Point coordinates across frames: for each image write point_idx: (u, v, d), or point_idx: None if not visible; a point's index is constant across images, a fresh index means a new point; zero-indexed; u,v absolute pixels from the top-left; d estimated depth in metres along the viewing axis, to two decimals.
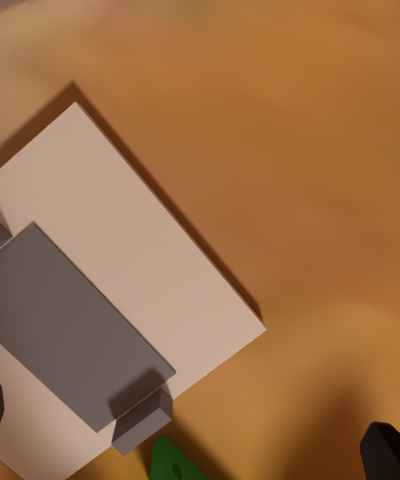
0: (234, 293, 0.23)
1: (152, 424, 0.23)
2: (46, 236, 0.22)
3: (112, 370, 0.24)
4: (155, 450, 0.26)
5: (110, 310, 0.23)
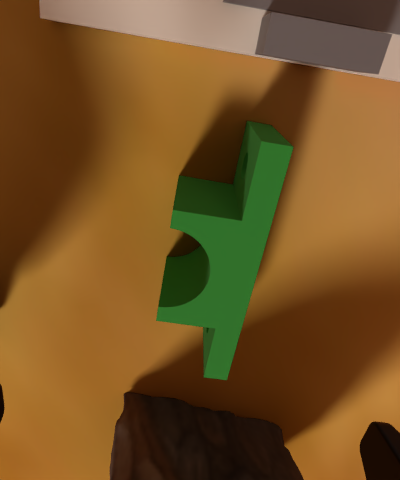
0: None
1: (353, 49, 0.12)
2: None
3: None
4: (257, 125, 0.15)
5: None
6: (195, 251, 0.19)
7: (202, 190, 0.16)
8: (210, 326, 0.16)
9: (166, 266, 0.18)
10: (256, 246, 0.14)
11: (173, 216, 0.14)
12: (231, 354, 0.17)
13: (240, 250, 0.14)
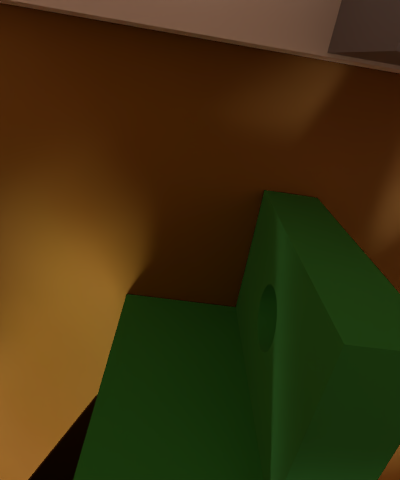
0: None
1: None
2: None
3: None
4: (292, 212, 0.06)
5: None
6: None
7: (169, 353, 0.07)
8: None
9: None
10: None
11: None
12: None
13: None
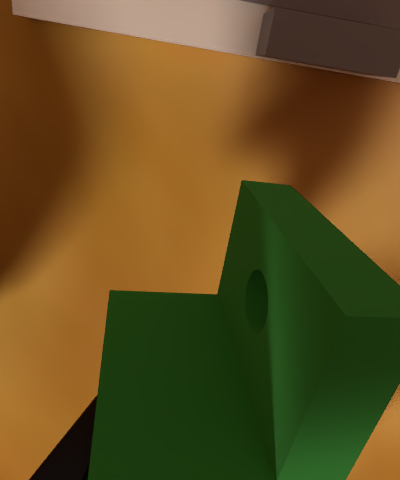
0: None
1: (367, 50, 0.11)
2: None
3: None
4: (272, 200, 0.07)
5: None
6: None
7: (161, 344, 0.07)
8: None
9: None
10: None
11: None
12: None
13: None
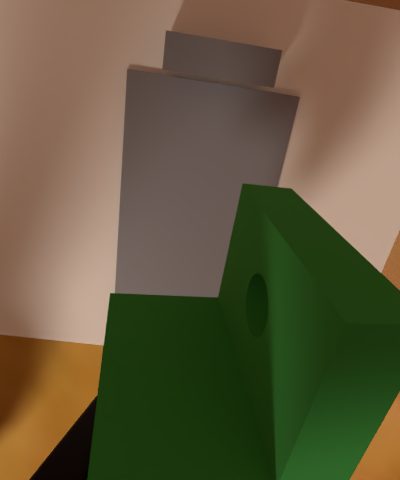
0: None
1: None
2: (292, 121, 0.15)
3: (192, 292, 0.19)
4: (273, 204, 0.07)
5: None
6: None
7: (161, 347, 0.07)
8: None
9: None
10: None
11: None
12: None
13: None
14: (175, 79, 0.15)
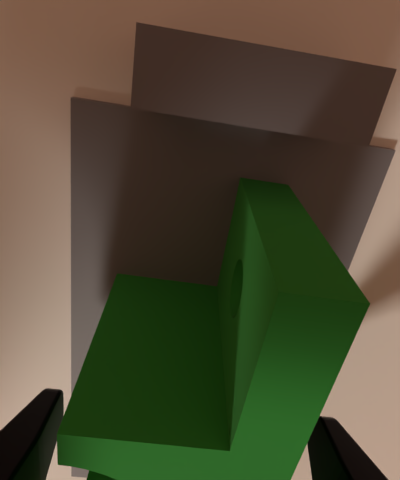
0: None
1: None
2: (375, 190, 0.09)
3: None
4: (261, 196, 0.07)
5: None
6: None
7: (153, 323, 0.08)
8: None
9: None
10: None
11: (60, 446, 0.05)
12: None
13: None
14: (164, 117, 0.08)
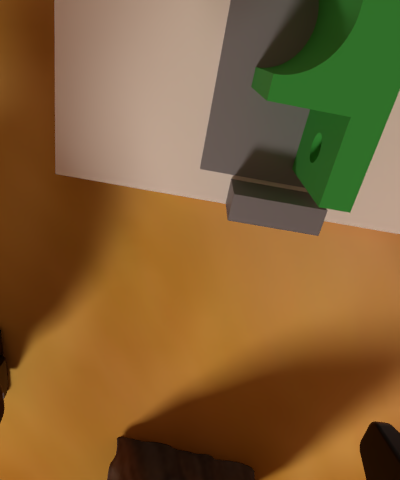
0: None
1: (297, 219, 0.15)
2: None
3: (306, 119, 0.15)
4: None
5: None
6: (297, 55, 0.14)
7: None
8: (344, 112, 0.11)
9: (261, 68, 0.13)
10: None
11: None
12: (365, 166, 0.12)
13: None
14: None
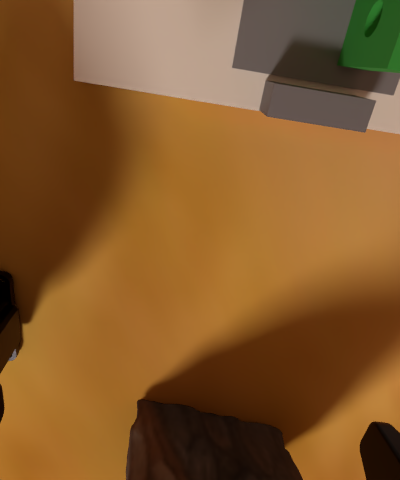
0: None
1: (343, 113, 0.14)
2: None
3: (349, 3, 0.14)
4: None
5: None
6: None
7: None
8: None
9: None
10: None
11: None
12: None
13: None
14: None
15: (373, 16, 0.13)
